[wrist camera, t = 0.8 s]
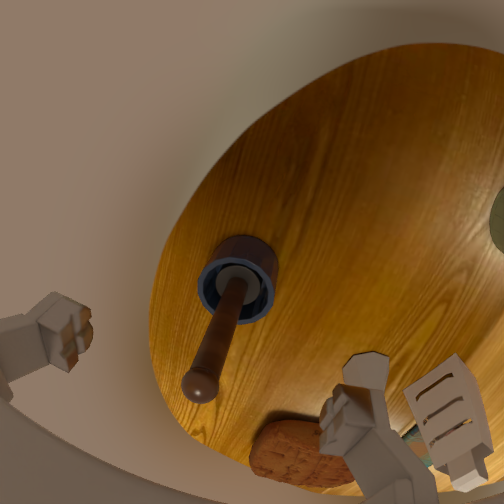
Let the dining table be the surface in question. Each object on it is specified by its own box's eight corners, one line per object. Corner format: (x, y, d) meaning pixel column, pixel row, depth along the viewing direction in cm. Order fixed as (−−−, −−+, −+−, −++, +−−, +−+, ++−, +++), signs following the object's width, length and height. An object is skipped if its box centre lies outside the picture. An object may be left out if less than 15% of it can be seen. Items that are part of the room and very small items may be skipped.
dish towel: (356, 473, 54) (357, 481, 52) (417, 420, 44) (419, 431, 42) (411, 474, 54) (412, 482, 51) (473, 423, 44) (476, 432, 41)
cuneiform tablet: (385, 424, 45) (391, 459, 38) (342, 463, 52) (343, 494, 45) (271, 403, 45) (265, 443, 38) (245, 446, 53) (238, 479, 46)
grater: (428, 411, 43) (450, 503, 25) (402, 390, 41) (424, 498, 23) (475, 378, 38) (511, 469, 20) (455, 352, 37) (499, 458, 19)
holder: (203, 243, 36) (186, 266, 30) (267, 227, 34) (260, 249, 28) (225, 300, 38) (213, 328, 33) (286, 288, 36) (282, 317, 31)
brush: (218, 254, 35) (148, 375, 18) (257, 245, 34) (214, 372, 17) (231, 290, 37) (180, 419, 20) (269, 282, 36) (240, 419, 18)
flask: (348, 349, 39) (355, 405, 30) (396, 351, 38) (411, 405, 29) (336, 383, 42) (339, 437, 33) (380, 385, 41) (390, 436, 32)
